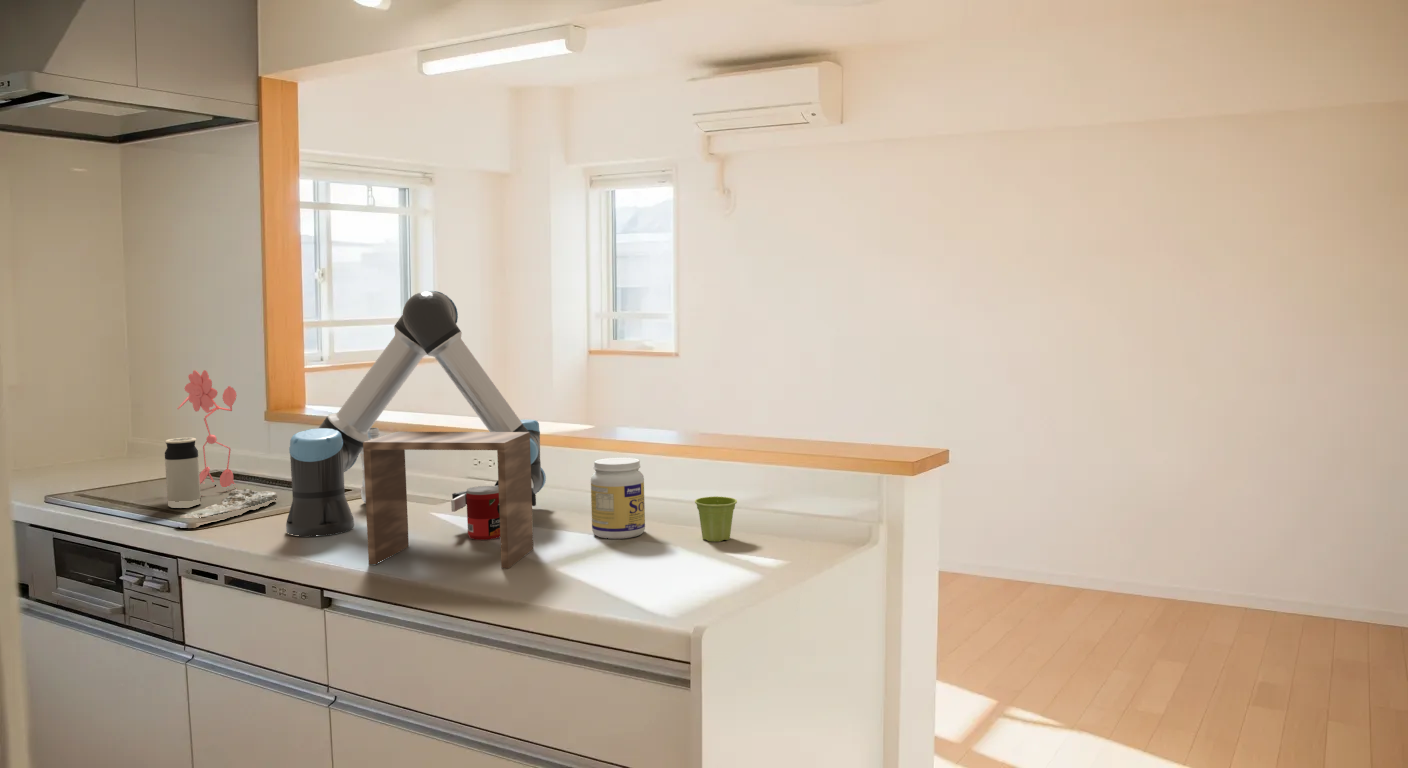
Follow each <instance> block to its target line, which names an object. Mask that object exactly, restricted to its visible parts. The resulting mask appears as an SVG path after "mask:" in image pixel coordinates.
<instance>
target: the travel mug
mask: <svg viewBox="0 0 1408 768" xmlns="http://www.w3.org/2000/svg"><path fill="white" fill-rule="evenodd" d="M196 441H197V438H195V437H177V438H176V437H175V438H169V439H166V440H165V441H164V442H165V444H166V450H165V451H164V463H165V464H164V466H165V480H166V496H167V502H168V501H175V502H179V501H193V500H197V499H200V498H201V496H202V495H201V494H202V493H201V484H200V477H199V474H200V463H199V450H198V448H197V446H195V445H196ZM201 499H202V498H201Z"/></svg>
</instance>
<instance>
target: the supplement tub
mask: <svg viewBox="0 0 1408 768" xmlns="http://www.w3.org/2000/svg"><path fill="white" fill-rule="evenodd" d="M640 462H641V460H640V459H638V458H635V457H606V458H601V459H596V460H594V461H593V470H595V472H593V474H592V475H591V477H590V499H591V501H590V503H591V504H590V506H591V531H592V534H594V535H595V536H596V537H598V538H601V539H607V538H608V540H609V539H610V540H619V539H622V540H623V539H631V538H635V537H638V536H639V537H640V536H641V535H642V534H643V533H644V532H645V530H646V515H645V514H646V512H645V509H646V507H645V506H646V505H645V504H646V503H645V477H644V474H643V473H642V472H641V471H640V468H641V464H640Z"/></svg>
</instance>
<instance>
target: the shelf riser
mask: <svg viewBox="0 0 1408 768" xmlns="http://www.w3.org/2000/svg"><path fill="white" fill-rule="evenodd" d="M406 450H410V451H411V450H412V451H413V450H414V451H425V450H426V451H497V452H496V453H497V477H498V478H497V481H498V485H499V513H500V537H499V538H500V539H499V540H500V562H501V564H500V567H501V569H510V568H511V567H512V566H514V565H515V564H517V563H518V562H520V560H522V559H523V558H525V557H526V556H527V555H528V554H529V553H531V552H532V551H534V528H533V527H534V526H533V525H534V523H533V522H534V521H533V506H532V487H531V456H530V432H490V431H394V432H392V433H388V434H385V435H382V436H378V438H375V439H372V440H368V441H365V442H363V452H364V473H365V495H366V503H365V511H366V513H365V515H366V531H367V533H366V534H367V555H368V556H367V557H368V565H369V564H377V563H378V562H380V561H382V560H384V559H386V558H388V557H389V558H391V557H393V556H395V555H397V554H398V553H400V552H402V551H403V550H406V549H407V548H409V546H410V544H409V543H410V542H409V541H410V540H409V521H408V497H407V495H408V494H407V476H406V475H407V473H406V471H407V469H406ZM396 553H397V554H396ZM394 554H395V555H394ZM392 555H393V556H392ZM390 556H391V557H390ZM389 558H388V559H389ZM386 560H387V559H386ZM384 561H385V560H384ZM382 562H383V561H382ZM380 563H381V562H380ZM377 565H378V564H377Z"/></svg>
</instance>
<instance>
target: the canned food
mask: <svg viewBox="0 0 1408 768" xmlns="http://www.w3.org/2000/svg"><path fill="white" fill-rule="evenodd" d="M465 491H466V499H467V504H466V515H467V516H466V519H467V520H466V521H467V535H468V538H469V539H471V540H475V541H488V540H495V539H496V540H497V539H499V538H500V513H499V487H497V486H495V485H480V486H479V485H478V486H472V487H469V488H467V489H466V490H465Z"/></svg>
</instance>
